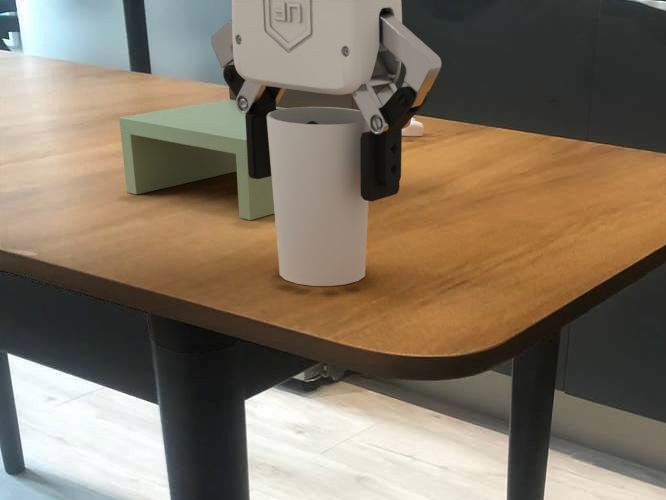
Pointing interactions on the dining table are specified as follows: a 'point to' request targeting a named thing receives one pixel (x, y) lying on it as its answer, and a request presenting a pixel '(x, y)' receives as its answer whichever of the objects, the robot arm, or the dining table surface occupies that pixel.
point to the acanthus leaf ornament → (413, 129)
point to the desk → (204, 147)
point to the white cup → (318, 194)
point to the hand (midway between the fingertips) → (322, 185)
